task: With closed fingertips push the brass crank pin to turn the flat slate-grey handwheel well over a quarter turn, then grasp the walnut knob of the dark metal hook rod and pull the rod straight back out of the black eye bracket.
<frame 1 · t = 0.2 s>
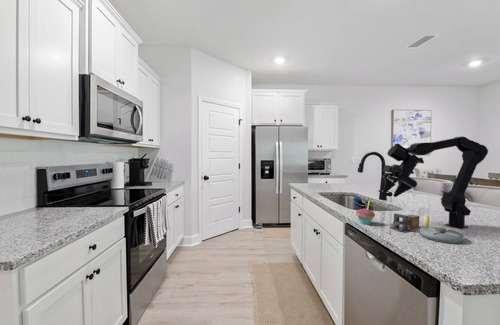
hand: (388, 194, 116), 15 cm above the counter, tool tilted 30°, fingers open, 9 cm apart
eye bracket: (400, 229, 111), on the counter
cupcake: (364, 223, 121), on the counter
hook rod: (404, 222, 112), point 3 cm above the counter, slide at 0.0 cm
handwheel: (441, 228, 100), point 4 cm above the counter, hinge at 0.0°
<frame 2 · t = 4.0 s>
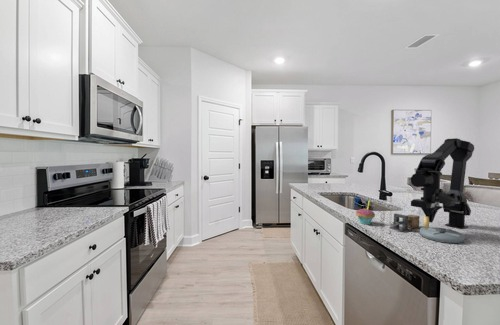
hand: (430, 222, 105), 5 cm above the counter, tool pointing down, fingers closed
handwheel: (441, 228, 100), point 4 cm above the counter, hinge at 0.8°, touching gripper
everything else where it was.
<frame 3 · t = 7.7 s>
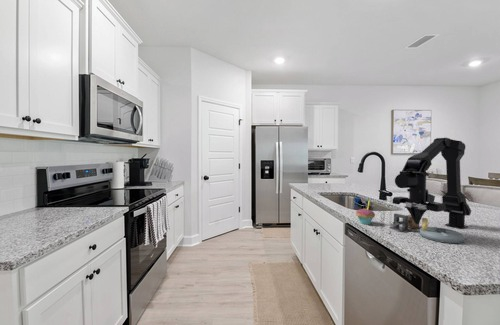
hand: (416, 223, 104), 4 cm above the counter, tool pointing down, fingers closed
handwheel: (441, 228, 100), point 4 cm above the counter, hinge at 44.8°, touching gripper
everything else where it was.
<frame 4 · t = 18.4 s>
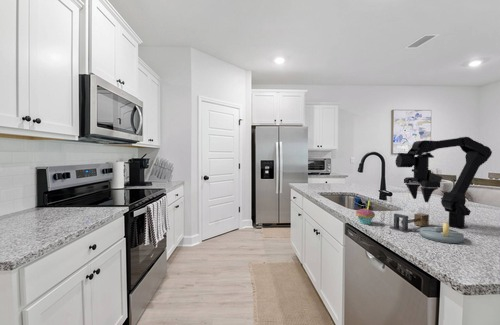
hand: (420, 200, 116), 12 cm above the counter, tool pointing down, fingers open, 9 cm apart
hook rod: (413, 220, 114), point 3 cm above the counter, slide at 7.0 cm
handwheel: (441, 228, 100), point 4 cm above the counter, hinge at 133.2°
everything else where it was.
at the end: handwheel at +133° (first picture: +0°); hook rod slide at 7.0 cm; the gripper is holding nothing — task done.
